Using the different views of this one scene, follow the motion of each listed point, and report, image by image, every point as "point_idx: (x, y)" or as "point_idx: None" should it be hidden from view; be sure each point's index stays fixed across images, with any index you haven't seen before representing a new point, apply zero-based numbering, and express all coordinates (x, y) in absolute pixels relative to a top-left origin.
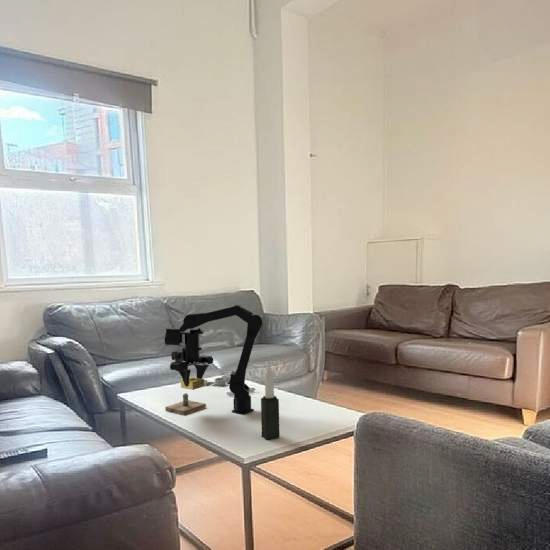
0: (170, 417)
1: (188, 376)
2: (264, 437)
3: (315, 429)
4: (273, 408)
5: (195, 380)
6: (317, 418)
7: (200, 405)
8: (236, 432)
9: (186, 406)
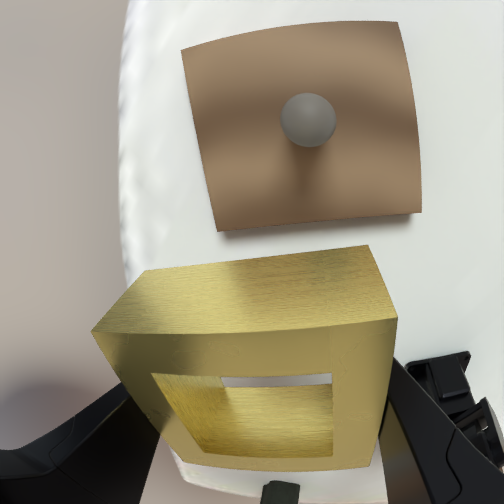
0: (149, 200)
1: (125, 493)
2: (267, 485)
3: (363, 496)
4: None
5: (249, 458)
6: None
7: (375, 212)
8: None
9: (294, 149)
